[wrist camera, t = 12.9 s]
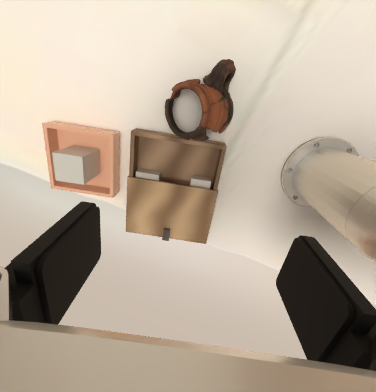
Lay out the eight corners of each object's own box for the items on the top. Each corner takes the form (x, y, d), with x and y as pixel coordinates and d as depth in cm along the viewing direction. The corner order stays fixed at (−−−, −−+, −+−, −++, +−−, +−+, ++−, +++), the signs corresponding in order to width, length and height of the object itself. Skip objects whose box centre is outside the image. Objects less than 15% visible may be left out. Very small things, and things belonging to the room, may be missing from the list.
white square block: (210, 177, 38) (211, 181, 36) (206, 197, 39) (206, 202, 37) (191, 174, 38) (191, 178, 36) (188, 194, 39) (187, 199, 37)
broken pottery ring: (219, 147, 37) (195, 157, 30) (181, 117, 39) (150, 121, 32) (263, 77, 29) (242, 71, 23) (212, 45, 31) (180, 31, 25)
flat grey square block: (161, 171, 38) (159, 175, 36) (159, 188, 39) (157, 193, 37) (139, 167, 38) (135, 171, 36) (138, 185, 39) (135, 190, 37)
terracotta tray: (119, 131, 36) (113, 134, 33) (119, 191, 40) (113, 197, 37) (54, 121, 35) (42, 122, 33) (61, 182, 40) (51, 188, 37)
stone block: (99, 148, 36) (82, 157, 31) (100, 173, 38) (84, 184, 33) (74, 144, 36) (52, 152, 31) (76, 169, 38) (55, 180, 33)
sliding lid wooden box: (225, 143, 36) (228, 147, 32) (205, 234, 43) (205, 246, 40) (135, 128, 35) (127, 131, 32) (131, 222, 43) (124, 234, 39)
